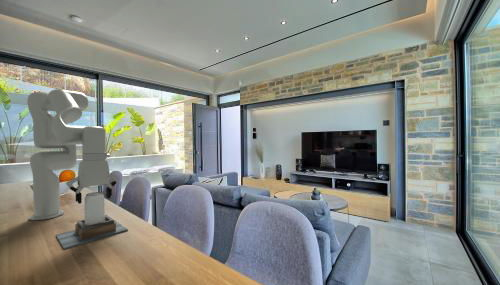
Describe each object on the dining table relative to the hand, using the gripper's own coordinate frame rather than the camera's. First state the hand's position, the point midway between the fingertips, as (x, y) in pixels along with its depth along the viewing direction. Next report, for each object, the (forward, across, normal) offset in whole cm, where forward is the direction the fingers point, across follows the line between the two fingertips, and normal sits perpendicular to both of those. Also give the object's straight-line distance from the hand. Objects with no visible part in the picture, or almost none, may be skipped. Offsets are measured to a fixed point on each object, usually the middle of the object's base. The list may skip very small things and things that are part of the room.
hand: (94, 200), depth 88 cm
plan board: (+13, 0, +1) cm, 13 cm away
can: (+9, 0, +1) cm, 9 cm away
